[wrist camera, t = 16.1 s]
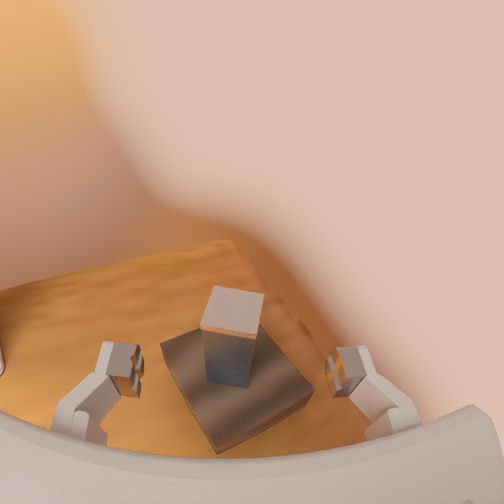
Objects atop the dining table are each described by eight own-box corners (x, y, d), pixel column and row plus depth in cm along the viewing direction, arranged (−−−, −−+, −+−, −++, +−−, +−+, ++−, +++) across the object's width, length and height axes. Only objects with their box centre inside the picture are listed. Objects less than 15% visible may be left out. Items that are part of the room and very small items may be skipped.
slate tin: (206, 381, 32) (199, 323, 25) (215, 348, 36) (214, 285, 29) (247, 389, 32) (256, 334, 25) (254, 355, 36) (264, 294, 29)
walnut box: (166, 365, 40) (159, 343, 36) (245, 332, 46) (247, 308, 42) (217, 454, 29) (215, 445, 26) (304, 407, 36) (314, 389, 32)
